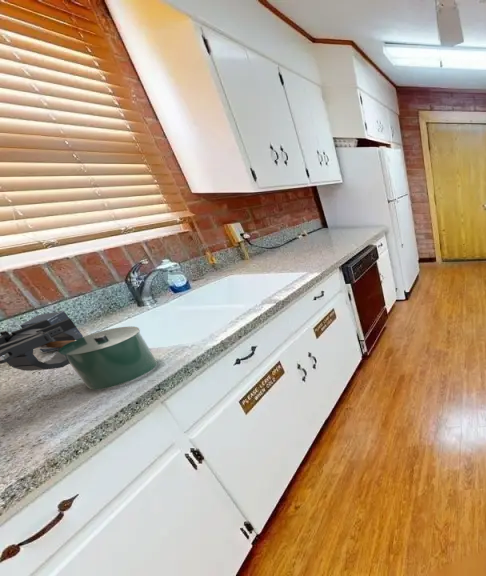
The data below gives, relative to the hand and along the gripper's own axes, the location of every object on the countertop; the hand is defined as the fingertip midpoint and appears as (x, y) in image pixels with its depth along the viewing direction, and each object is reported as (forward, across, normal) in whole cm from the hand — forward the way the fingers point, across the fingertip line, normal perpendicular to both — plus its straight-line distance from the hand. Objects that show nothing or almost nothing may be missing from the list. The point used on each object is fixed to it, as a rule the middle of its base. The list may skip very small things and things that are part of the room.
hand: (60, 323), depth 82 cm
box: (+14, -22, -15) cm, 30 cm away
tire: (-5, 0, -10) cm, 12 cm away
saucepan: (-5, +7, -15) cm, 18 cm away
